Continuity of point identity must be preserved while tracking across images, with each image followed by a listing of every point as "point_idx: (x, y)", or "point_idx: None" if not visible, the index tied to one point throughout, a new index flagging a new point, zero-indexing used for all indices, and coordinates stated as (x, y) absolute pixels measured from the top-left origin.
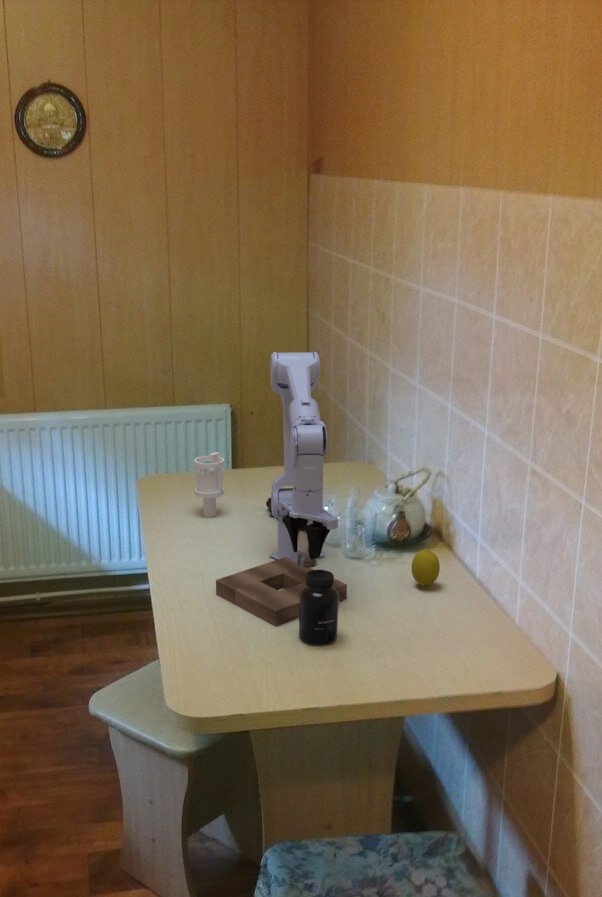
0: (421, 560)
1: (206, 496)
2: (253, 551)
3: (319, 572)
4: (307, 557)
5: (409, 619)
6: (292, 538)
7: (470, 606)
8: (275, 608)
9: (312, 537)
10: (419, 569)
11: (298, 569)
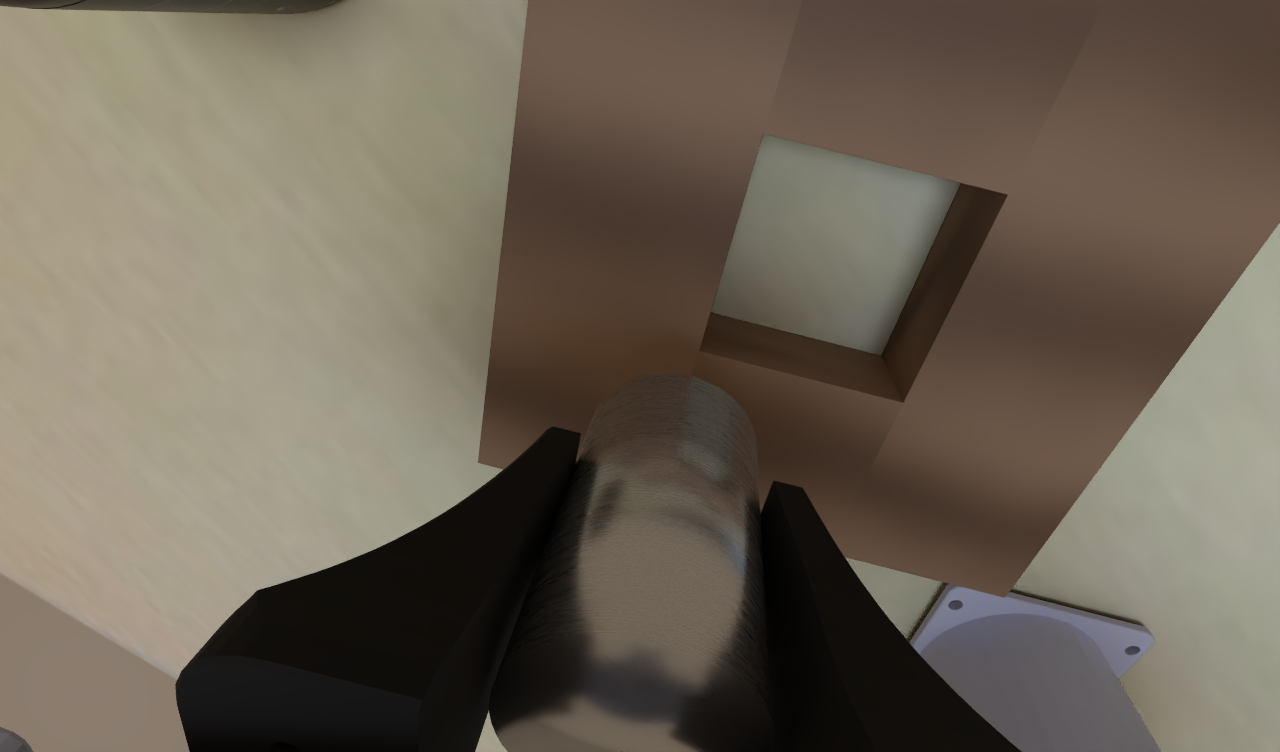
0: None
1: None
2: (1270, 641)
3: None
4: (606, 436)
5: (163, 383)
6: (818, 574)
7: (130, 583)
8: None
9: (374, 558)
10: None
11: (837, 494)
